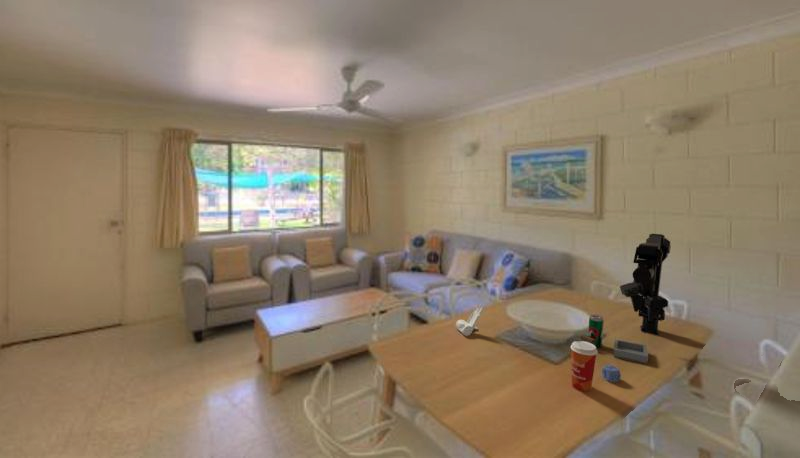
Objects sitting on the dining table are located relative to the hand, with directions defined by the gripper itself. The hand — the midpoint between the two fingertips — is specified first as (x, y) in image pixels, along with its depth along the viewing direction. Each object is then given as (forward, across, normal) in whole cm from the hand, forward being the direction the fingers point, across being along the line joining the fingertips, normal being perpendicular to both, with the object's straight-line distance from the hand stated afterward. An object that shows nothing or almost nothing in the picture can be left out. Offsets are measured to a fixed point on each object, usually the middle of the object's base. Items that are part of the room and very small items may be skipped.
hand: (642, 316), depth 138 cm
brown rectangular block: (+13, 0, -20) cm, 24 cm away
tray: (+13, +6, -7) cm, 16 cm away
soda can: (+13, -2, -16) cm, 21 cm away
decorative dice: (+13, +23, -22) cm, 35 cm away
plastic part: (+13, -12, -65) cm, 68 cm away
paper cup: (+13, +29, -34) cm, 46 cm away
